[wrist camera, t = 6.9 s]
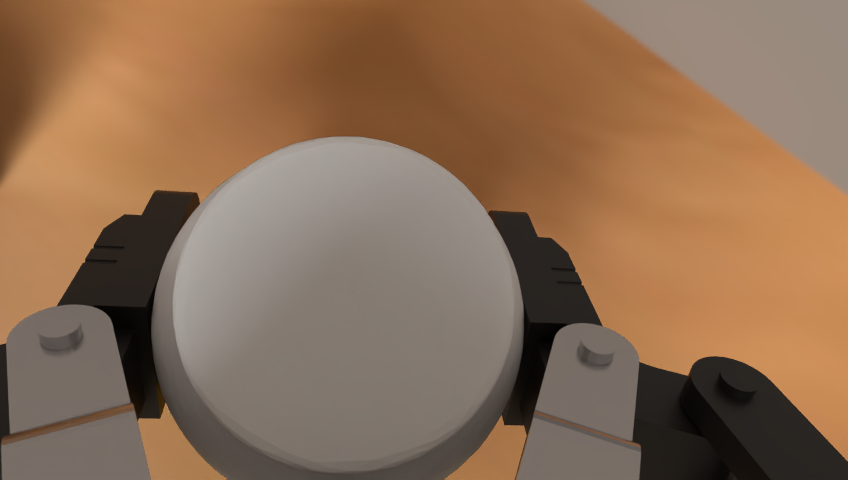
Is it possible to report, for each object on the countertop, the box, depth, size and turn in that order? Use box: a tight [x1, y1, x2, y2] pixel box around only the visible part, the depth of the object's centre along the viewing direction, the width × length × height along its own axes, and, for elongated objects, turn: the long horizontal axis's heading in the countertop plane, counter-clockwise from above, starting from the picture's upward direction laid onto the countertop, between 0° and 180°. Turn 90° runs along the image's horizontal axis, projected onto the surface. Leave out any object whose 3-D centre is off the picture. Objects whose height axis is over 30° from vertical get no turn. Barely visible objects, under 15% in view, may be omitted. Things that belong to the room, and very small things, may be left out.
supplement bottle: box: [151, 136, 524, 480], centre depth 13 cm, size 6×6×10 cm
